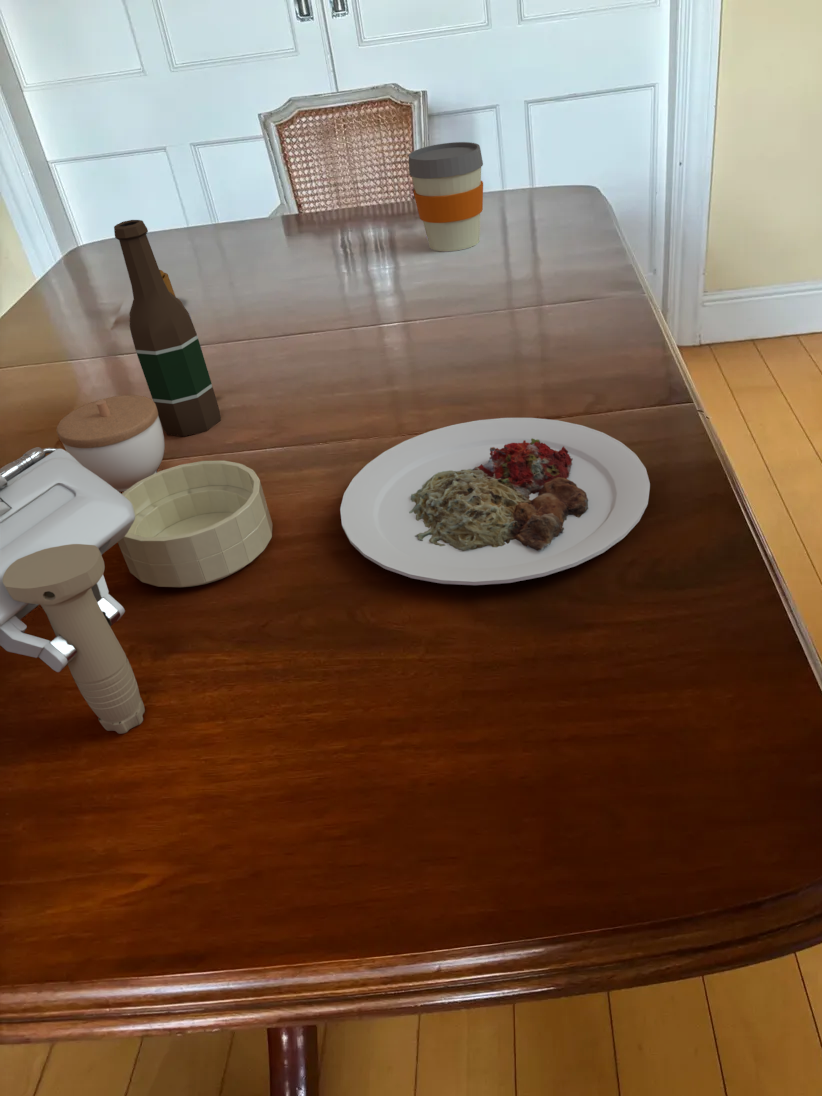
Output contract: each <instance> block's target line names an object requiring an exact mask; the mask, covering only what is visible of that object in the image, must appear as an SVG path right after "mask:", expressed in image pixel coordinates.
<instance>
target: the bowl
mask: <svg viewBox="0 0 822 1096" xmlns="http://www.w3.org/2000/svg"><path fill="white" fill-rule="evenodd" d="M121 494H122V495H123V496H124V497H126V498H127V499H128V500H129V501H130V502H131V503H132V505H133V509H134V513H135V520H134V522H133V524H132V526H131V528H130V529H129V531H128V532H127V534H126V535H125V536H124V537H123V538H122V539H121V540H120V541H118V542H117V544H118V547H119V549H120V551H121V554H122V557H123V559H124V561H125V563H126V566H127V569H128V572H129V573H130V574H131V575H132V576H134V578H136V579H137V580H139V582H141V583H144V584H147V585H151V586H155V587H158V588H191V587H198V586H202V585H208V584H211V583H215V582H218V581H220V580H223V579H225V578H227V577H229V576H231V575H233V574H235V573H237V572H239V571H240V570H242V569H243V568H245V567H246V566H247V565H250V564H251V563H252V562H253V561H254V560H255V559H256V558H258V557H259V556H260V555H261V554H262V553H263V552H264V551H265V550H266V549H267V547H268V544H269V543H270V541H271V539H272V537H273V526H274V525H273V522H272V518H271V514H270V510H269V507H268V503H267V499H266V496H265V493H264V489H263V486H262V483H261V479H260V478H259V476H258V475H257V473H256V471H255V470H254V469H252V468H251V467H248V466H246V465H245V464H243V463H239V462H234V461H229V460H200V461H195V462H188V463H183V464H179V465H175V466H173V467H168V468H166V469H163V470H160V471H157V473H155V474H153V475H151V476H149V477H147V478H145V479H142V480H140V481H139V482H137V483H136V484H134V485H133V486H132V487H130V488H129V489H127V490H126V491H122V493H121Z"/></svg>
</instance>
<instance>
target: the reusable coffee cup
mask: <svg viewBox="0 0 822 1096" xmlns="http://www.w3.org/2000/svg"><path fill="white" fill-rule="evenodd" d="M483 166H484V161H483V156H482V150H481V146H480V144H478V143H475V142H469V141H455V142H444V143H437V144H433V145H428V146H424V147H420V148H417V149H416V150H415V149H414V150H413V151H411V152H410V153H409V154H408V174H409V176H410V177H411V179H412V184H413V187H414V189H413V191H412V193H413V197H414V200H415V201H414V202H415V204H416V208H417V213H418V217H419V220H421V221H422V223H423V227H424V230H425V235H426V238H427V242H428V246H429V249H430V250H432V251H435V252H457V251H462V250H466V249H471V248H472V247H474V246H476V245H478V244H479V242H480V239H481V238H480V237H481V236H480V235H481V234H480V233H481V232H480V231H481V213H482V212H483V209H484V208H483V205H484V204H483V203H484V181H483V180H482V167H483Z"/></svg>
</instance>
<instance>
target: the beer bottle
mask: <svg viewBox="0 0 822 1096" xmlns="http://www.w3.org/2000/svg"><path fill="white" fill-rule="evenodd" d="M113 232H114V238H115V239H116V240H118V242H119V244H120V249H121V253H122V255H123V260H124V263H125V266H126V270H127V274H128V277H129V282H130V285H131V290H132V291H131V292H132V297H133V300H132V303H131V307H130V310H129V330H130V334H131V338H132V342H133V346H134V349H135V350H134V351H135V353H136V356H137V359H138V362H139V364H140V367H141V370H142V373H143V376H144V378H145V381H146V384H147V387H148V390H149V393H150V396H151V400H152V401H154V403H155V404H156V407H157V410H158V416H159V419H160V422H161V426H162V430H163V432H164V433H165V434H166V435H168V434H170V435H169V436H176V435H179V436H178V437H184V436H185V437H188V436H187V435H189V436H192V434H193V435H196V434H200V433H205V432H207V431H209V430H210V429H211V428H213V427H214V426H215V425H217V424H218V423H219V422H221V419H222V416H221V412H220V409H219V403H218V400H217V397H216V393H215V391H214V386H213V384H212V380H211V377H210V373H209V370H208V366H207V364H206V360H205V357H204V353H203V350H202V347H201V344H200V340H199V337H198V334H197V331H196V328H195V326H194V323H193V320H192V317H191V315H190V313H189V311H188V310H187V308H186V307H185V306H184V304H182V303H183V302H182V300H181V299H179V298H178V297H177V296H176V295H175V296H176V297H175V296H174V295H173V294H172V293H171V292H169V290H168V288H167V286H166V284H165V282H164V280H163V278H162V276H161V273H160V270H161V269H160V268H159V264H158V262H157V260H156V257H155V254H154V252H153V249H152V246H151V243H150V241H149V238H148V235H147V234H148V232H149V230H148V227H147V225H146V224H145V223H144V221H143V220H142V219H128V220H124V221H121V222H120V223H117V224H116V225H113ZM177 298H178V299H179V300H178V299H177ZM181 302H182V303H181ZM171 434H172V435H171Z"/></svg>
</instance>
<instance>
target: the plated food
mask: <svg viewBox="0 0 822 1096" xmlns="http://www.w3.org/2000/svg"><path fill="white" fill-rule="evenodd" d="M650 490H651V483H650V479H649V475H648V472H647V468H646V466H645V464H644V463H643V462H642V461H641V459H640V458H639V457H638V455H637V454H636V453H635V452H634V451H632V449H630V448H629V447H628V446H627V445H625V444H624V443H623V442H622V441H620V440H618V439H616V438H614V437H613V436H611V435H608V434H607V433H605V432H603V431H599V430H597V429H594V428H592V427H589V426H585V425H582V424H579V423H578V424H577V423H572V422H568V421H563V420H558V419H550V418H540V417H538V418H537V417H500V418H499V417H497V418H487V419H477V420H472V421H467V422H461V423H455V424H452V425H448V426H443V427H441V428H437V429H436V428H435V429H433V430H430V431H426V432H424V433H421V434H419V435H417V436H414V437H411V438H409V439H405V440H404V441H401V442H400V443H398V444H396V445H394V446H392V447H391V448H389V449H387V450H385V451H383V452H382V453H380V454H379V455H378V456H376V457H375V458H374V459H372V460H371V461H370V462H368V463H367V464H365V466H363V468H361V470H359V471H358V473H357V474H355V476H354V477H353V478H352V480H351V481H350V483H349V485H348V486H347V488H346V490H345V491H344V493H343V496H342V499H341V504H340V507H339V511H340V519H341V521H340V522H341V528H342V530H343V531H344V533H345V535H346V537H347V539H348V541H349V544H351V545H352V546H353V547H354V548H355V550H357V551H358V552H359V553H360V554H361V555H362V556H363V557H364V558H366V559H367V560H369V561H371V562H372V563H374V564H376V565H378V566H379V567H381V568H383V569H385V570H387V571H390V572H393V573H396V574H399V575H402V576H404V577H408V578H410V579H414V580H420V581H425V582H431V583H435V584H436V583H437V584H441V585H459V586H461V585H462V586H485V585H501V584H511V583H516V582H520V581H526V580H532V579H537V578H542V577H546V576H550V575H552V574H556V573H558V572H563V571H565V570H568V569H570V568H574V567H578V566H579V565H582V564H583V563H585V562H587V561H589V560H592V559H594V558H596V557H598V556H599V555H601V554H604V553H605V552H606V551H608V550H609V549H610V548H612V547H613V546H615V545H616V544H617V543H619V542H621V541H622V540H623V539H624V538H625V537H626V536H628V534H629V533H630V532H631V531H632V530H633V529H634V528H635V526H636V525H638V524H639V522H640V521H641V519H642V517H643V515H644V514H645V511H646V509H647V507H648V506H649V499H650Z"/></svg>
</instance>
